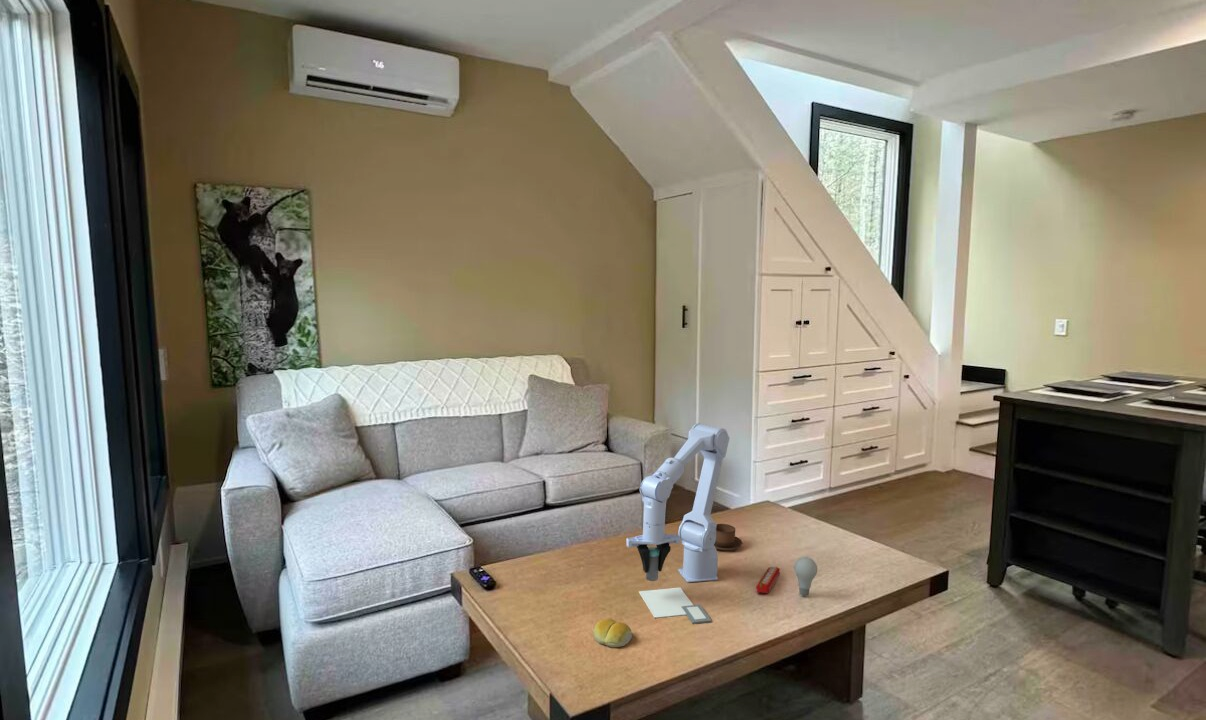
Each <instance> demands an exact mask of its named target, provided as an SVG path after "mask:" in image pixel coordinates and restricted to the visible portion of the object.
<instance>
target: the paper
mask: <svg viewBox="0 0 1206 720" xmlns="http://www.w3.org/2000/svg"><path fill="white" fill-rule="evenodd" d="M638 593H639V594H640V596H641V598H642V599H643V601H644V603H645V605H646V606H647V608H648V610H649V611H650V613H651V615H652V616H653V617H654V619H657V618H659V619H660V618H667V617H670V618H671V617H679V616H687V615H686V613H685V612H684V610H683V609H682V606H690V605H694V604H693V602H692V601H691V600H690V598H689V597H688V596H687V595H686V593H685V592H684V590H683V589H682V588H681V587H673V588H672V587H671V588H662V589H661V588H660V589H651V590H639V591H638Z"/></svg>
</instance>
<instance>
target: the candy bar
mask: <svg viewBox="0 0 1206 720" xmlns="http://www.w3.org/2000/svg"><path fill="white" fill-rule="evenodd" d="M780 570H781V569H780V568H779V567H777V566H770V567H767V568H766V570H765V571H764V573H763V575H762V576H761V578H760V579H759V581H758V583H757V585H756V593H757V594H769V593H770V591H771V590H772V588H773V587H774V585H775V583H776V582H777V580H778V578H779V576H780V574H781V572H780Z"/></svg>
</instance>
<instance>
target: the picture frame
mask: <svg viewBox="0 0 1206 720" xmlns="http://www.w3.org/2000/svg"><path fill="white" fill-rule="evenodd" d="M682 609H683V610H684V612H685V613H686V615H685V616H687V619H688V620H689V621H690V622H691V624H693V625H695V624H696V625H698V624H705V623H706V624H707V623H712V622H713V621H712V619H711V618H710V616H709V615H708V613H707V612H706V611H705V610H704V608H703V607H702V606H701V605H700V604H693V605H690V606H682Z"/></svg>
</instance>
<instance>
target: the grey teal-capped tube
mask: <svg viewBox="0 0 1206 720" xmlns="http://www.w3.org/2000/svg"><path fill="white" fill-rule="evenodd" d="M648 549H649V551H650V554H649V560H648V573H645V579H646V580H647V581H650V582H656V581H658V580H659V571H658V566H659V549H658V548H657V547H654V546H652V547H649V546H648Z"/></svg>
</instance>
